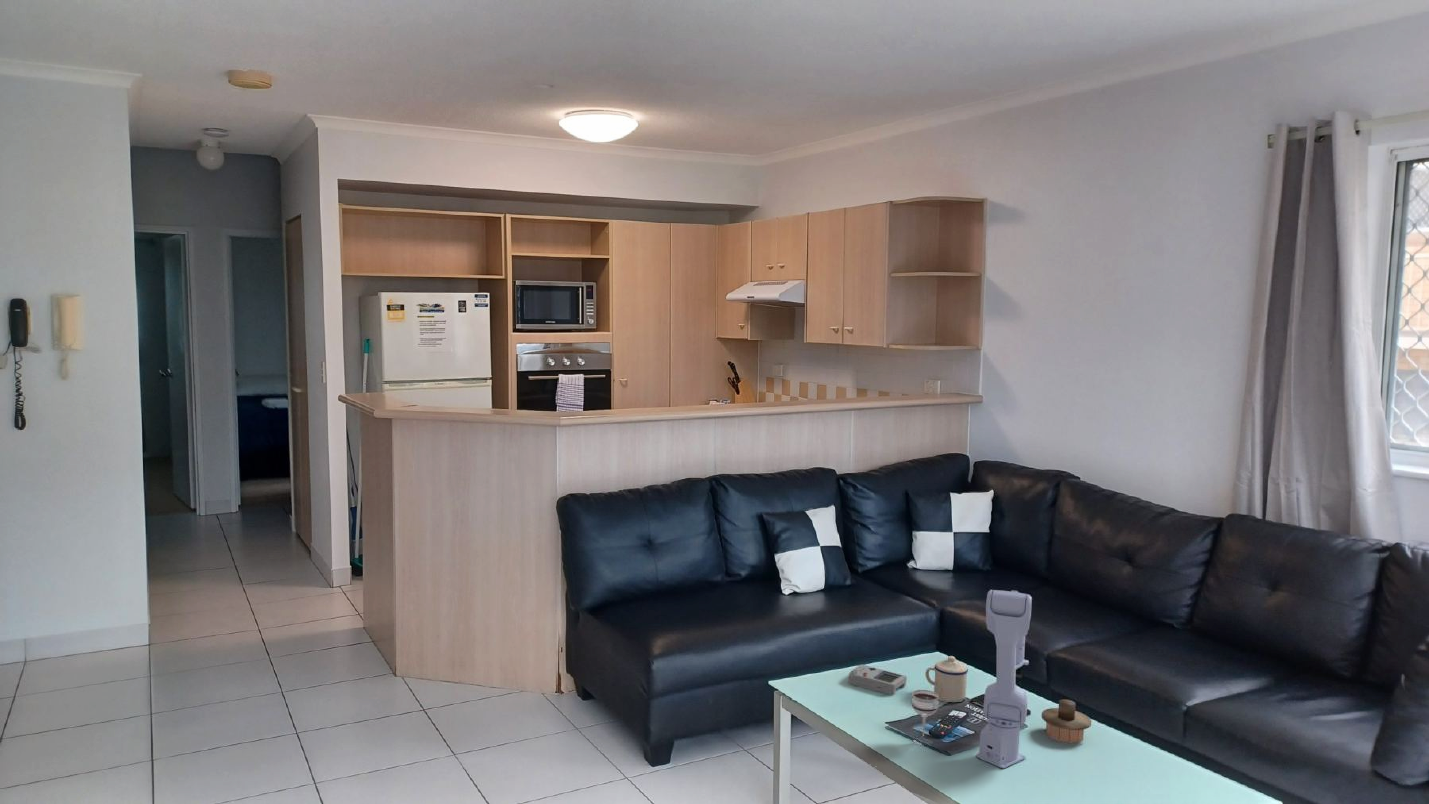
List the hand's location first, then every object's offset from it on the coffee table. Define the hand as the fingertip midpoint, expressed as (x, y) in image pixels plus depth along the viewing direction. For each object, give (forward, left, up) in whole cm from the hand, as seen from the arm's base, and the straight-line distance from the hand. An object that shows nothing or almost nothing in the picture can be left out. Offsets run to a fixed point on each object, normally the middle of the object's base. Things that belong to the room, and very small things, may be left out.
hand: (1010, 693), depth 247 cm
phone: (+11, +10, -10) cm, 18 cm away
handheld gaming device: (-5, +41, -10) cm, 42 cm away
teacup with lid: (+5, +24, -10) cm, 27 cm away
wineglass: (-23, +9, -10) cm, 27 cm away
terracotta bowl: (+10, -10, -10) cm, 17 cm away
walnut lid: (+10, -10, -6) cm, 15 cm away
